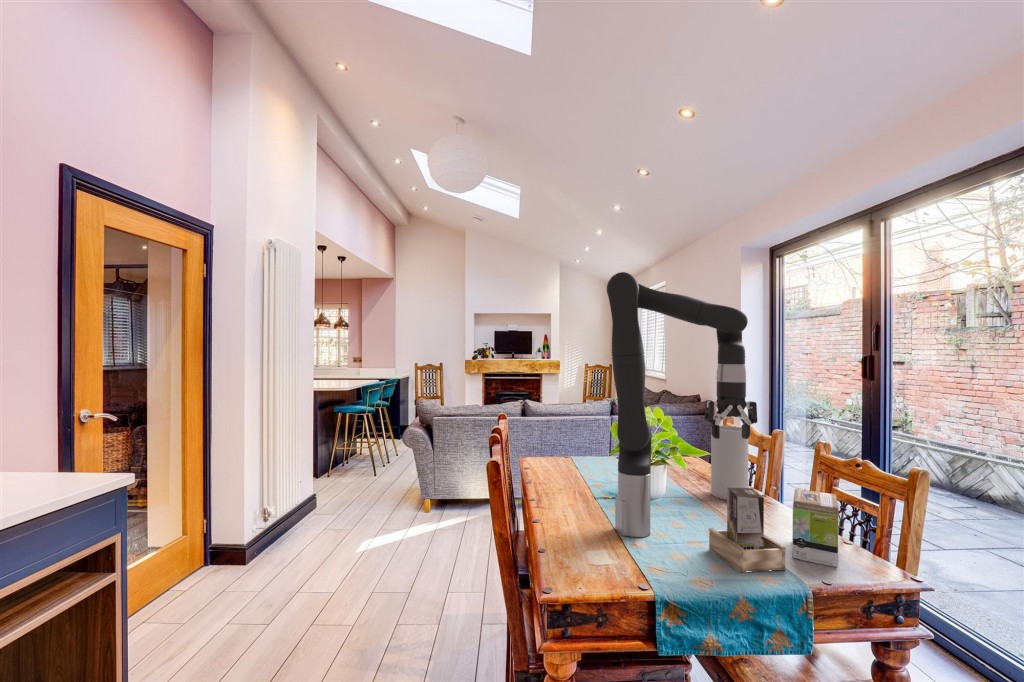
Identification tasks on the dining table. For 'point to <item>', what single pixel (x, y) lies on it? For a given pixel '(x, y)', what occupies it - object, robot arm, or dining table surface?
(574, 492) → the dining table surface
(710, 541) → the crate
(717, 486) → the cylinder vase
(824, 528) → the tea box
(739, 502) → the coffee box
